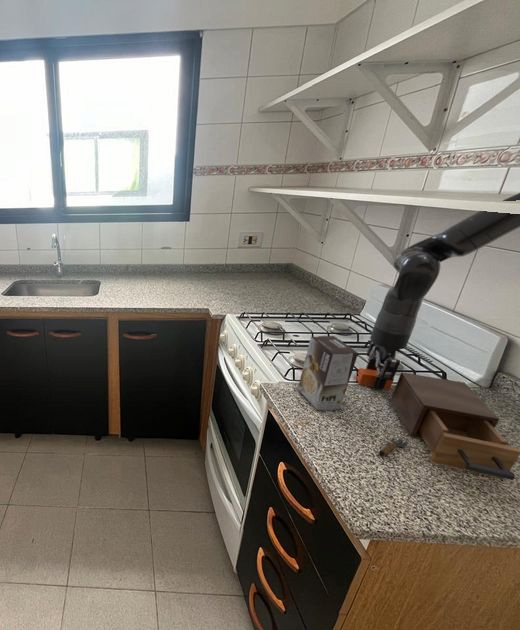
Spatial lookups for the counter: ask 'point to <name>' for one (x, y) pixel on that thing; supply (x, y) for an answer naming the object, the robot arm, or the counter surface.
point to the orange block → (370, 378)
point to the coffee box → (326, 372)
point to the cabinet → (435, 400)
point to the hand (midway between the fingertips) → (373, 380)
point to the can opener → (392, 446)
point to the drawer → (467, 444)
